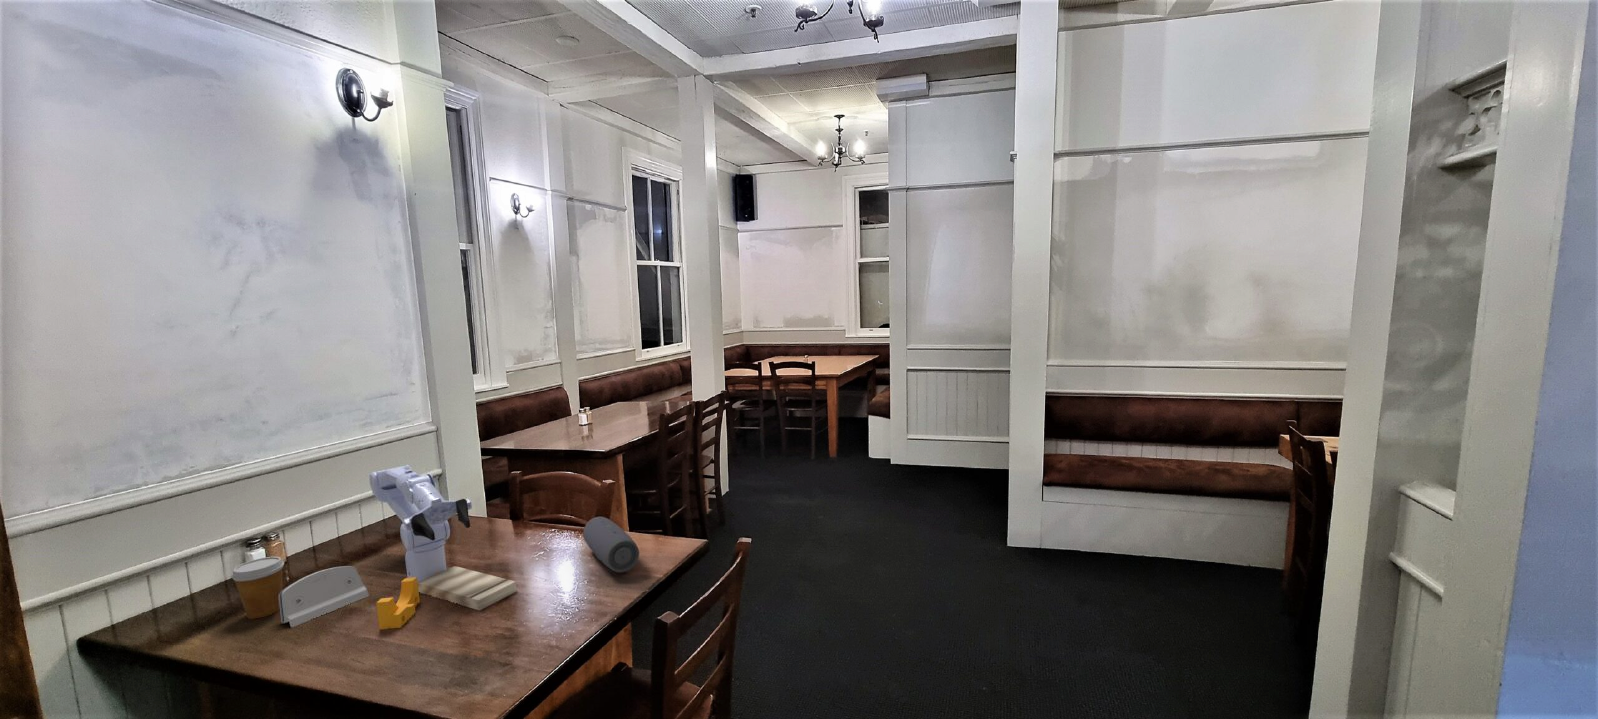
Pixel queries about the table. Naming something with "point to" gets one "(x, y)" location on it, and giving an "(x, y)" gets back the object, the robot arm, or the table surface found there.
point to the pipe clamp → (399, 605)
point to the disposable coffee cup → (259, 585)
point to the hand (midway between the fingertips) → (451, 530)
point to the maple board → (467, 587)
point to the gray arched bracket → (320, 594)
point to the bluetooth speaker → (611, 544)
